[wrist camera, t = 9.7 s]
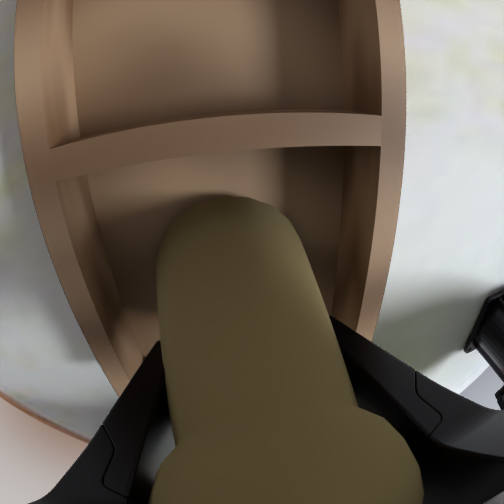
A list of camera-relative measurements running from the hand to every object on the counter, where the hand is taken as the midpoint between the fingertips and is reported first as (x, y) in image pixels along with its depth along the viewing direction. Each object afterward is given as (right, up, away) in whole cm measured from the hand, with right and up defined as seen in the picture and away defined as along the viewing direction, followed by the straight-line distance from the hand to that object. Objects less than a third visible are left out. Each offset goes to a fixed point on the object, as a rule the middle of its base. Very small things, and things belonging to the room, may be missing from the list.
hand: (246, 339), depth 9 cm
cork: (-1, +2, +4) cm, 4 cm away
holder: (-1, +7, +2) cm, 8 cm away
